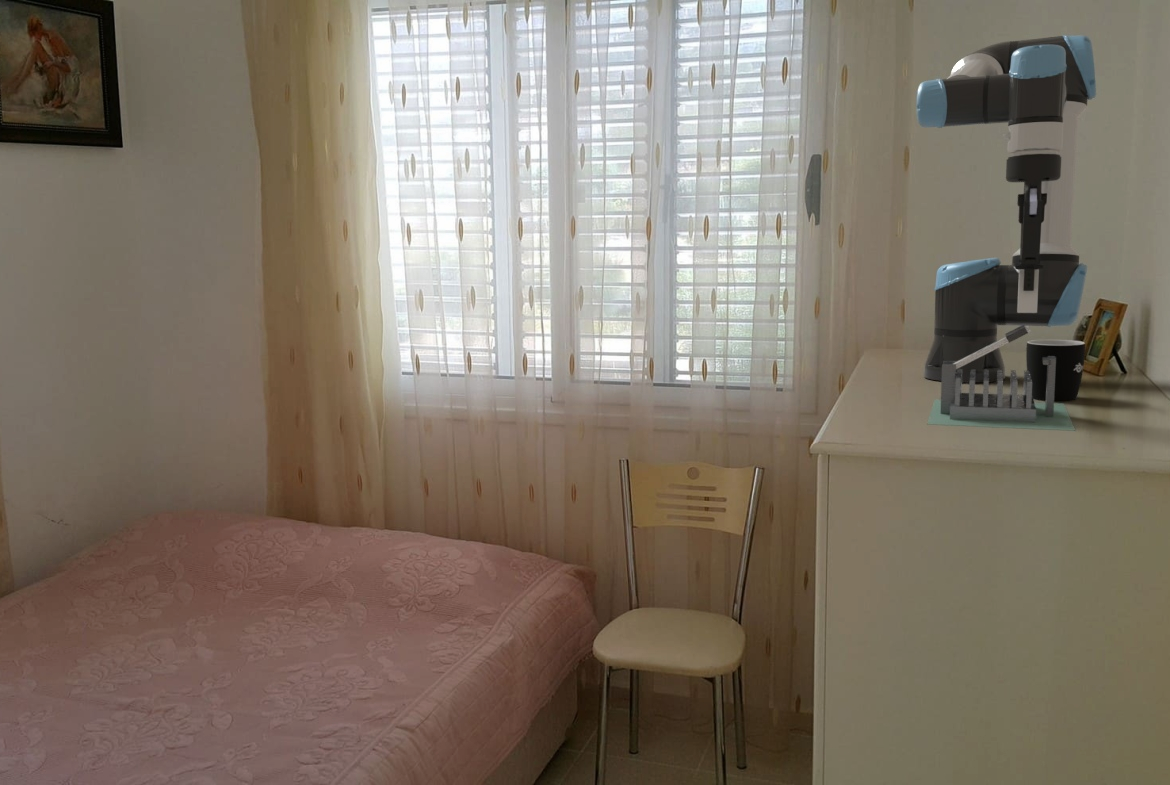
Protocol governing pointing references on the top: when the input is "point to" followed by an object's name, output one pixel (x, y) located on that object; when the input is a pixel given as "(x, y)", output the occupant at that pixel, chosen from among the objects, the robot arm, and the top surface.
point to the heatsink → (994, 396)
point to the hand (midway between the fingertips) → (1027, 312)
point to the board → (1042, 422)
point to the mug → (1066, 367)
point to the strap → (994, 345)
